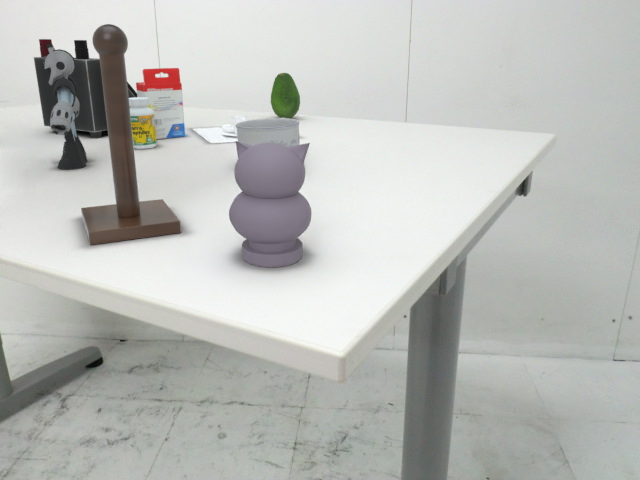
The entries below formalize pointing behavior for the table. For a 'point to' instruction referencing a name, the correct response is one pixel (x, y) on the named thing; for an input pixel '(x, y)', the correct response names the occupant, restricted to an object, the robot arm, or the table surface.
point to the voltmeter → (87, 85)
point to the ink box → (164, 101)
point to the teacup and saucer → (232, 128)
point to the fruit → (285, 96)
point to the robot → (65, 106)
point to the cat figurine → (270, 203)
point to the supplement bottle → (142, 123)
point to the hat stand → (122, 157)
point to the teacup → (269, 131)
